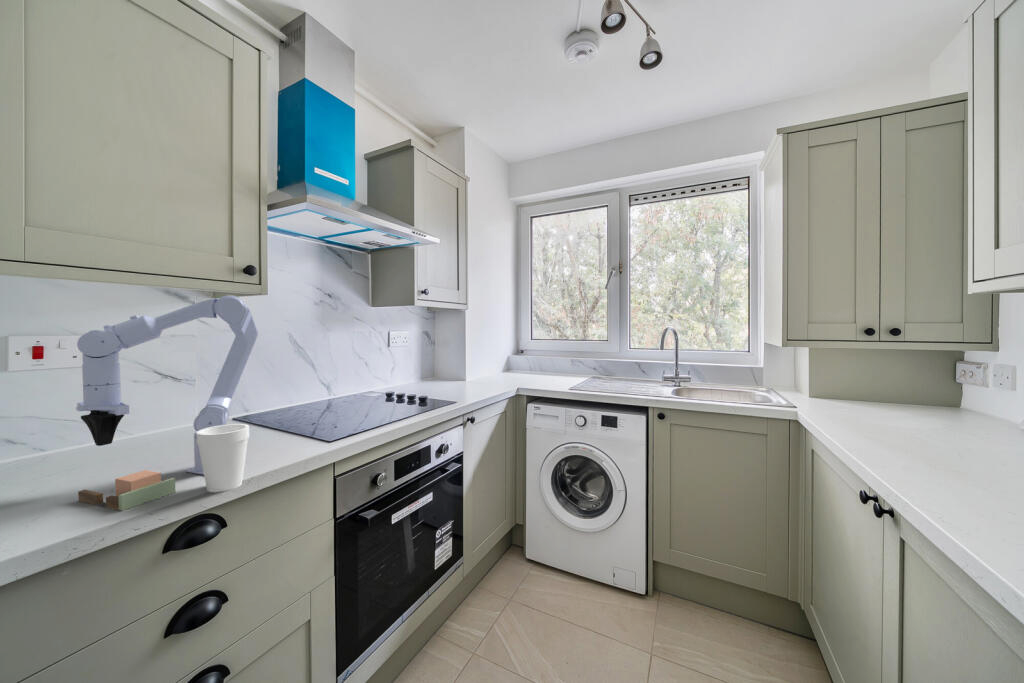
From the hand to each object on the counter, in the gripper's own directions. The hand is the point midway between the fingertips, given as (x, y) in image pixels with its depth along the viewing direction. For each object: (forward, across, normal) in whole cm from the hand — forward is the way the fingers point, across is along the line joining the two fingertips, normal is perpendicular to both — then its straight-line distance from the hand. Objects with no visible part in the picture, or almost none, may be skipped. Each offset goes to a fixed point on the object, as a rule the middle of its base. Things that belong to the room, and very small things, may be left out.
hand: (104, 444), depth 85 cm
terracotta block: (+10, +16, -2) cm, 18 cm away
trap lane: (+9, +12, -2) cm, 15 cm away
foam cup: (+10, +26, +8) cm, 29 cm away
